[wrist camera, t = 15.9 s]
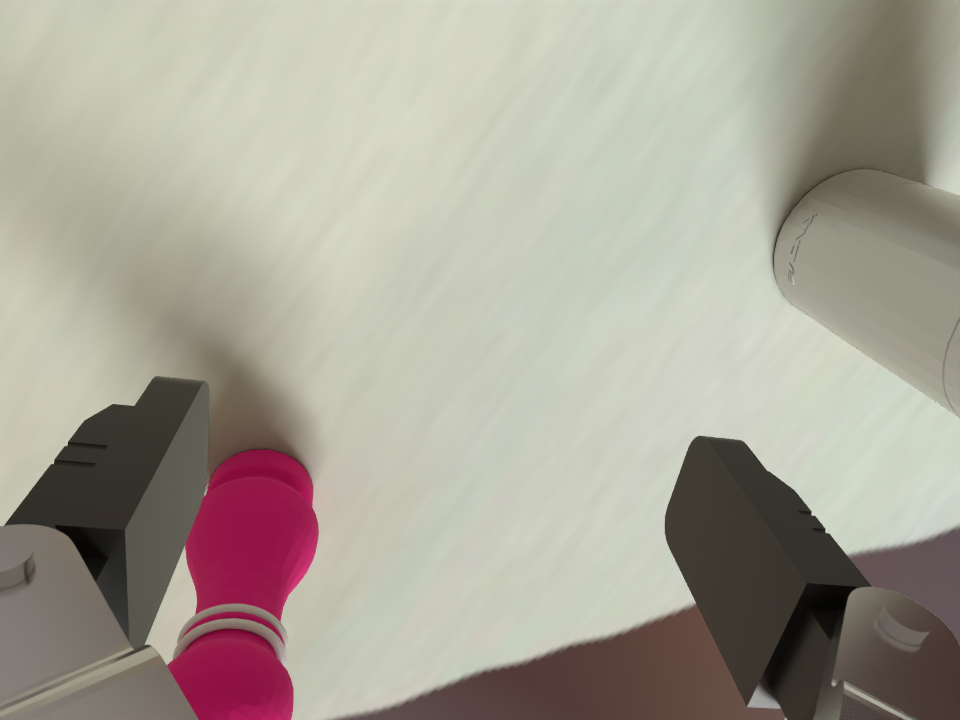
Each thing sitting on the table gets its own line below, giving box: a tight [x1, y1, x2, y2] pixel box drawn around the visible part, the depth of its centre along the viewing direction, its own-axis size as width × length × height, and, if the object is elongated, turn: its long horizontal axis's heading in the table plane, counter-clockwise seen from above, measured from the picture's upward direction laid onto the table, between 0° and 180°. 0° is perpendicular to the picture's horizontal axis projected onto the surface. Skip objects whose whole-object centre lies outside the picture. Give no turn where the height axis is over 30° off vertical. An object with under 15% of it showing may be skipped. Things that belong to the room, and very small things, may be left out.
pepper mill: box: [167, 450, 319, 720], centre depth 36 cm, size 7×7×20 cm
